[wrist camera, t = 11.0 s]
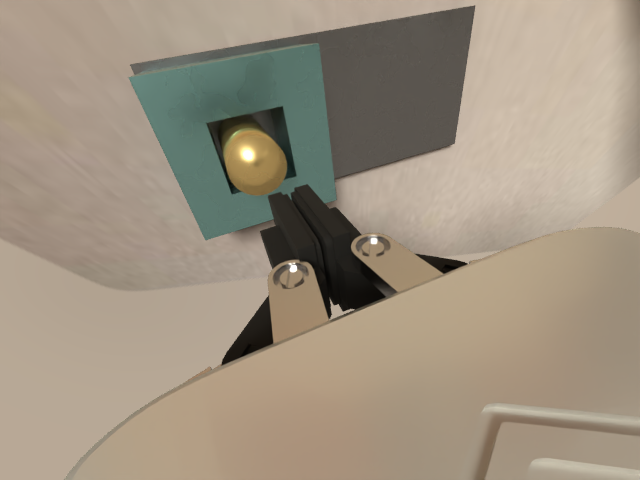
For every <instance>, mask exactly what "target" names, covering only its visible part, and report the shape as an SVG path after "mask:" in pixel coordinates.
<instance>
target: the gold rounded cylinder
mask: <svg viewBox="0 0 640 480" xmlns="http://www.w3.org/2000/svg"><path fill="white" fill-rule="evenodd" d="M218 139H219V143H220V146H221V150H222V154H223V157H224V161H225V165H226V168H227V172H228V175H229V178H230V180H231V182H232V183H233V184H234V186H235V187H236V188H237V189H239V190H240V191H242V192H244V193H246V194H249V195H255V196H259V195H265V194H268V193H270V192H272V191H274V190H275V189H277V188H278V187H279V186H280V185H281V183H282V182H283V180H284V178H285V176H286V172H287V161H286V157H285V155H284V153H283V151H282V150H281V148H280V147H279V146H278V145H277V144H276V143H275V141H274V140H273V139H272V138H271V137H270V136H269V135H268V133H267V132H266V131H265V130H264V129H263V128H262V127H261V125H260V124H259V123H258V122H257V121H256V120H255V119H254V118H253V117H251V116H249V115H247V114H244V115H240V116H235V117H231V118H227V119H224V120H223V121H222V122H221V124H220V126H219V129H218Z"/></svg>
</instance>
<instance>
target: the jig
mask: <svg viewBox="0 0 640 480" xmlns="http://www.w3.org/2000/svg"><path fill="white" fill-rule="evenodd" d="M474 11H475V6H470V7H463V8H458V9H452V10H446V11H440V12H434V13H428V14H423V15H417V16H411V17H405V18H399V19H393V20H387V21H382V22H376V23H370V24H364V25H358V26H352V27H346V28H341V29H335V30H329V31H323V32H317V33H311V34H306V35H300V36H294V37H288V38H282V39H276V40H270V41H265V42H259V43H253V44H247V45H241V46H235V47H230V48H224V49H218V50H212V51H206V52H200V53H194V54H189V55H183V56H177V57H171V58H165V59H159V60H153V61H148V62H142V63H136V64H131V65H130V66H131V68H132V70H133V72H134V75H133V76H131V77H129V80H130V82H131V84H132V86H133V88H134V90H135V92H136V94H137V96H138V99H139V101H140V103H141V105H142V107H143V109H144V111H145V113H146V115H147V118H148V120H149V122H150V124H151V126H152V128H153V130H154V132H155V135H156V137H157V139H158V141H159V143H160V145H161V147H162V149H163V151H164V154H165V156H166V158H167V160H168V162H169V164H170V166H171V168H172V170H173V173H174V175H175V177H176V179H177V181H178V183H179V185H180V187H181V189H182V192H183V194H184V196H185V198H186V200H187V202H188V204H189V206H190V209H191V211H192V213H193V215H194V217H195V219H196V221H197V223H198V225H199V228H200V230H201V232H202V234H203V236H204V238H205V240H208V239H211V238H214V237H218V236H221V235H224V234H227V233H231V232H234V231H237V230H240V229H244V228H247V227H250V226H253V225H257V224H260V223H263V222H266V221H270V220H273V219H274V218H273V214H272V211H271V207H270V203H269V200H268V195H271V194H275V193H278V192H281V193H282V194H283V195H284V194H288V196H289V197H290V199H291V192H294V188H295V187H299V186H302V185H306V184H308V185H309V186H310V187H311V189H312V190H313V191H314V192H315V193H316V194H317V195H318V197H319V198H320V199H321V200H322V201H323V202H324V203H328V202H331V201H335V200H337V199H336V190H335V181H334V179H335V178H338V177H342V176H345V175H349V174H352V173H355V172H359V171H362V170H366V169H369V168H373V167H376V166H380V165H383V164H387V163H390V162H393V161H397V160H400V159H404V158H407V157H411V156H414V155H418V154H421V153H424V152H428V151H431V150H435V149H438V148H442V147H445V146H449V145H452V144H455V137H456V131H457V124H458V117H459V111H460V104H461V97H462V91H463V84H464V77H465V71H466V64H467V58H468V51H469V44H470V38H471V31H472V24H473V18H474ZM244 114H247V115H249V116H251V117H253V118H254V119H255V120H256V121H257V122H258V123H259V124H260V125H261V127H262V128H263V129H264V130H265V131H266V132H267V133H268V135H269V136H270V137H271V138H272V139H273V140H274V141H275V143H276V144H277V145H278V146H279V147H280V148H281V150H282V151H283V153H284V155H285V157H286V161H287V172H286V176H285V178H284V180H283V182H282V183H281V185H280V186H279V187H278V188H277V189H275V190H274V191H272V192H270V193H268V194H265V195H259V196H255V195H249V194H246V193H244V192H242V191H240V190H239V189H237V188H236V187H235V186H234V184H233V183H232V182H231V180H230V178H229V175H228V172H227V168H226V165H225V161H224V157H223V154H222V150H221V146H220V143H219V139H218V129H219V126H220V124H221V122H222V121H223V120H224V119H227V118H231V117H235V116H240V115H244ZM291 200H292V199H291Z"/></svg>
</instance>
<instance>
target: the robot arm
mask: <svg viewBox="0 0 640 480" xmlns="http://www.w3.org/2000/svg"><path fill="white" fill-rule="evenodd" d="M291 199H292V200H291ZM291 199H290V197H289V196H288V194H284V195H283V194H282V193H281V192H278V193H275V194H271V195H268V200H269V203H270V207H271V211H272V214H273V218H274V222H275V225H276V226H274V227H271V228H268V229H265V230H262V231H260V233H261V236H262V240H263V243H264V246H265V249H266V252H267V255H268V258H269V261H270V264H271V266H272V270H271V272H270V274H269V275H268V290H269V296H268V297H267V298H266V300H265V301H264V302H263V304H262V305H261V306H260V308H259V309H258V311H257V312H256V313H255V315H254V316H253V317H252V319H251V320H250V321H249V323H248V324H247V326H246V327H245V328H244V330H243V331H242V332H241V334H240V335H239V336H238V338H237V339H236V341H235V342H234V344H233V345H232V346H231V347H230V349H229V350H228V351H227V353H226V355H225V357H224V358H223V361H222V364H221V365H219V366H218V367H216V368H214V369H213V370H212V368H211V367H208V368H207V369H205V370H204V371H202V372H200V373H199V374H197V375H196V376H194V377H192V378H191V379H189V380H188V381H186V382H185V383H183V384H181V385H179V386H178V387H176V388H174V389H172V390H170V391H168V392H167V393H164V394H163V395H161V396H159V397H157V398H156V399H154V400H153V401H151V402H150V403H148V404H147V405H145V406H144V407H142V408H140V409H139V410H137V411H136V412H134V413H133V414H131V415H130V416H129V417H128V418H126V419H125V420H124V421H123V422H121V423H120V424H119V425H117V426H116V427H115V428H114V429H112V430H111V431H110V432H108V433H107V434H106V435H105V436H104V437H103V438H102V439H100V440H99V441H98V442H97V443H96V444H95V445H94V446H93V447H92V448H91V449H90V450H89V451H88V452H87V453H86V454H85V455H84V456H83V457H82V458H81V459H80V460H79V461H78V462H77V464H76V465H75V466H74V467H73V468H72V470H71V471H70V472H69V473H68V475H67V476H66V478H65V479H64V480H640V233H638V232H634V231H631V230H627V229H622V228H612V227H592V228H578V229H572V230H566V231H561V232H556V233H552V234H549V235H545V236H542V237H539V238H536V239H533V240H530V241H527V242H525V243H522V244H519V245H516V246H513V247H511V248H508V249H505V250H503V251H500V252H498V253H495V254H493V255H490V256H488V257H485V258H482V259H479V260H473V261H470V262H469V264H467V263H465V262H461V261H457V260H452V259H445V258H439V257H433V256H426V255H420V254H414V253H412V252H411V251H410V250H408V249H407V248H405V247H404V246H402V245H401V244H399V243H398V242H396V241H395V240H393V239H392V238H391V237H389V236H387V235H384V234H380V233H367V234H363V235H361V234H360V232H359V231H358V230H357V229H356V228H355V227H354V226H353V225H352V224H351V223H350V222H349V221H348V220H347V218H346V217H345V216H344V215H343V214H342V213H341V212H340V211H339V210H338V209H337V208H336V207H335V208H331V209H329V208H328V207H327V206H326V204H325V203H324V202H323V201H322V200H321V199H320V198H319V197H318V195H317V194H316V193H315V192H314V191H313V190H312V189H311V187H310V186H309V185H308V184H306V185H302V186H299V187H295V188H294V192H291ZM329 297H330V298H329ZM330 299H331V301H332V303H333V304H334V305H337V304H339V306H340V307H341V309H342V311H346V310H348V309H355V310H354V311H351V312H349V313H346V314H344V315H342V316H339V317H337V318H334V319H332V320H329V319H330V317H331V315H332V314H331V308H330V307H331V304H330Z"/></svg>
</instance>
